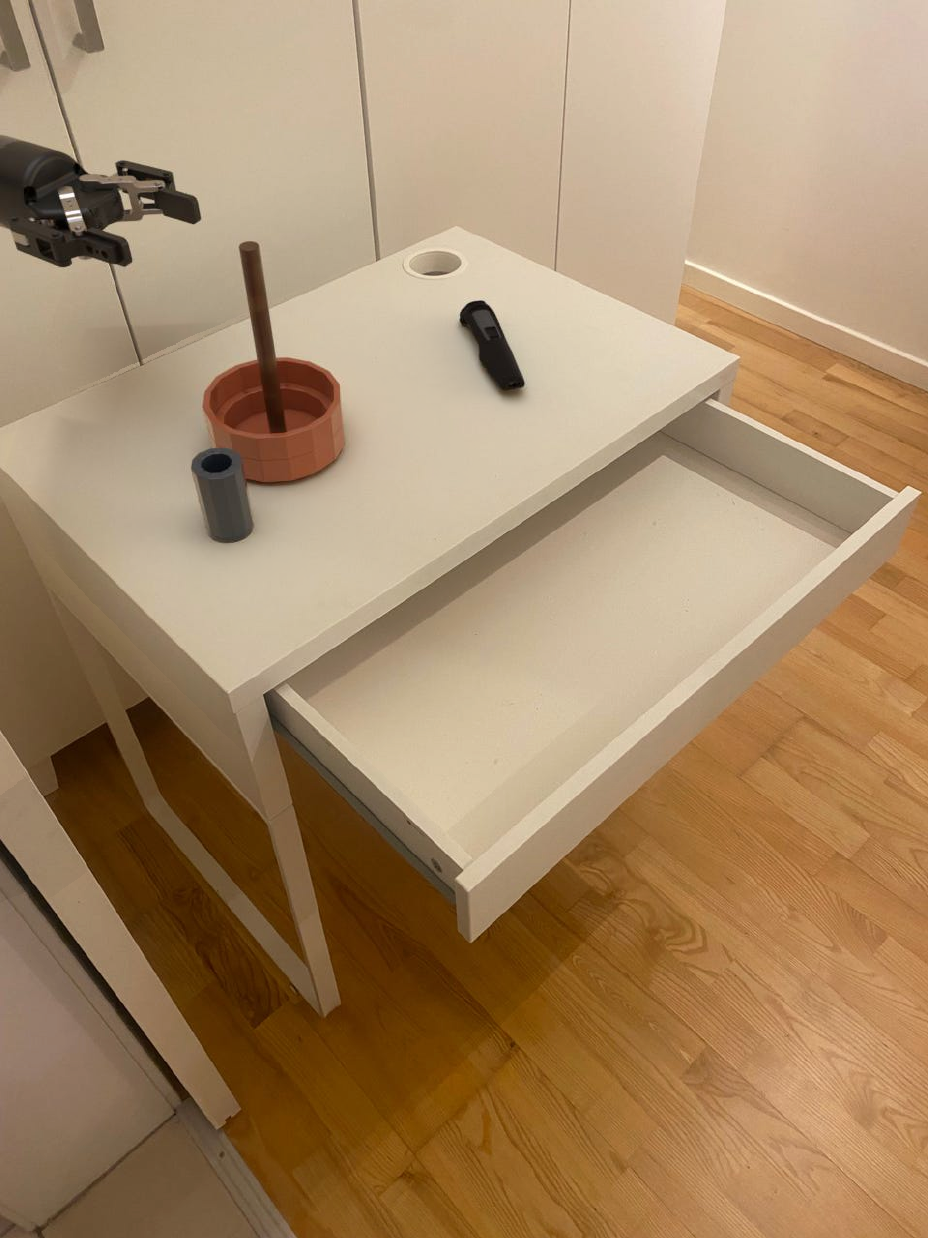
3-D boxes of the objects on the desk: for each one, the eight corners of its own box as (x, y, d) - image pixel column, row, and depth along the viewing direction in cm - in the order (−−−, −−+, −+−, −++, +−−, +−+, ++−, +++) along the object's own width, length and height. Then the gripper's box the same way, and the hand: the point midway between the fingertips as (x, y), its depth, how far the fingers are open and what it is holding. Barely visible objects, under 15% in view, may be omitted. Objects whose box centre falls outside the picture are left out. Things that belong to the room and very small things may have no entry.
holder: (205, 544, 81) (189, 480, 76) (208, 512, 84) (193, 448, 78) (253, 541, 81) (240, 477, 76) (255, 509, 84) (242, 445, 79)
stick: (271, 445, 89) (238, 251, 75) (270, 435, 90) (238, 241, 76) (288, 443, 89) (259, 249, 75) (287, 433, 90) (259, 239, 76)
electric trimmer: (495, 405, 95) (496, 378, 93) (456, 320, 105) (457, 294, 103) (531, 399, 96) (534, 373, 94) (489, 316, 106) (491, 290, 103)
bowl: (209, 490, 86) (198, 441, 82) (217, 409, 94) (207, 360, 90) (346, 482, 87) (341, 433, 83) (343, 402, 95) (338, 354, 91)
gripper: (-62, 173, 77) (89, 221, 72) (67, 114, 85) (210, 153, 80) (-28, 261, 83) (115, 312, 78) (90, 198, 91) (226, 239, 86)
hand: (163, 231), depth 79 cm, fingers open, 8 cm apart
